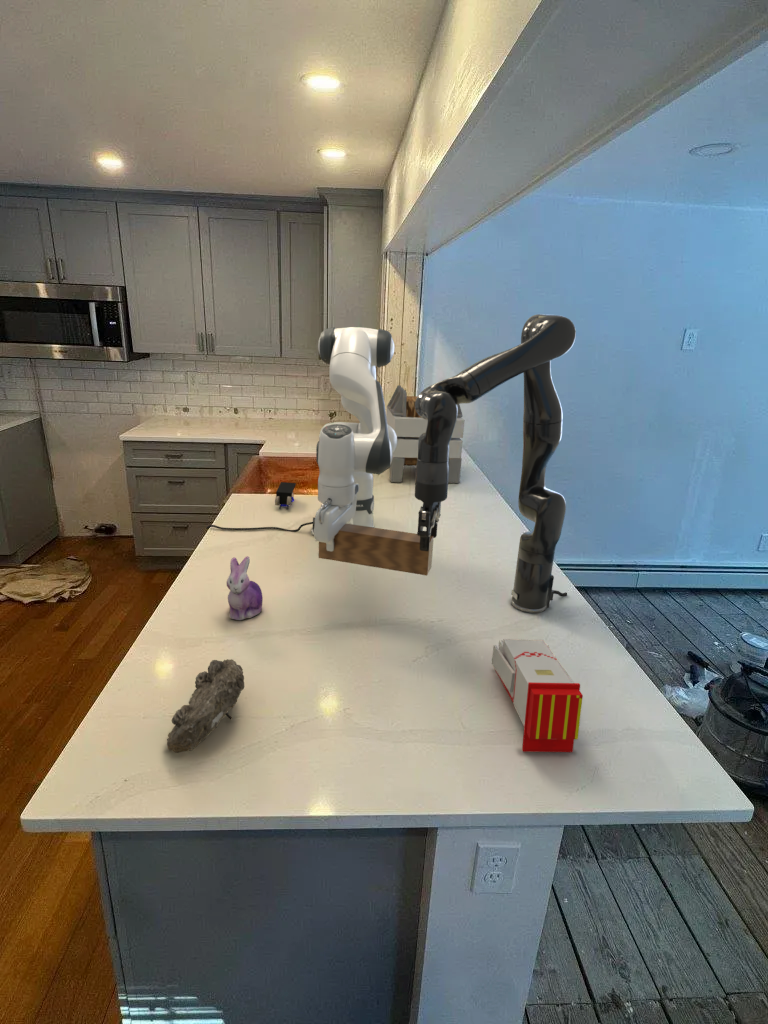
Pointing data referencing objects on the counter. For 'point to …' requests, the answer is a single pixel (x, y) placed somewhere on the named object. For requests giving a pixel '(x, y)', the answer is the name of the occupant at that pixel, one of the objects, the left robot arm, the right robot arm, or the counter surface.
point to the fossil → (206, 705)
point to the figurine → (243, 592)
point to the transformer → (417, 436)
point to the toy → (539, 694)
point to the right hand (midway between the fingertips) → (428, 543)
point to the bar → (379, 549)
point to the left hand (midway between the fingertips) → (335, 545)
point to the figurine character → (285, 494)
